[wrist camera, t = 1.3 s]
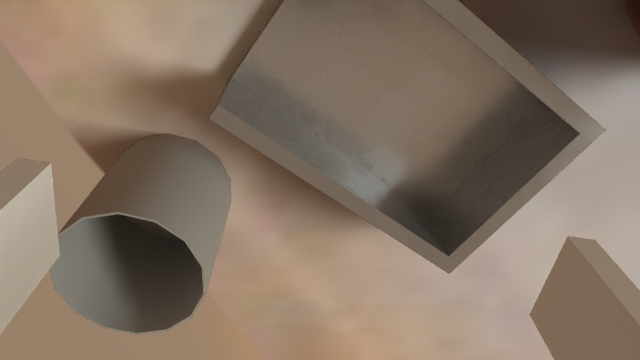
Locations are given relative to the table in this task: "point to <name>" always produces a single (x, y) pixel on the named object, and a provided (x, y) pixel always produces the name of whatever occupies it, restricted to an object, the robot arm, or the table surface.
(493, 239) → the table surface
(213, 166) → the cup
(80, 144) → the table surface
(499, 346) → the table surface
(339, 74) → the silver open box
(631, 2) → the case
